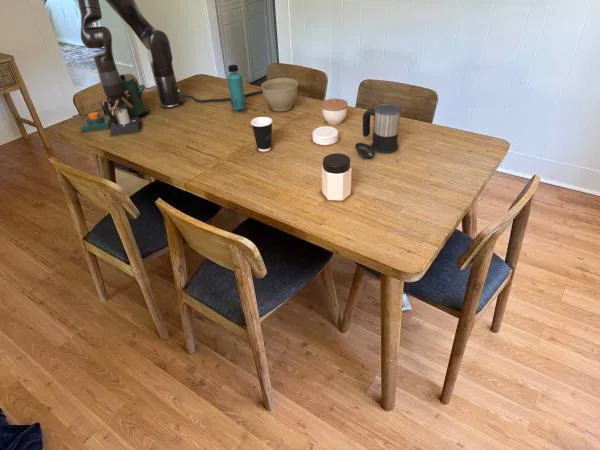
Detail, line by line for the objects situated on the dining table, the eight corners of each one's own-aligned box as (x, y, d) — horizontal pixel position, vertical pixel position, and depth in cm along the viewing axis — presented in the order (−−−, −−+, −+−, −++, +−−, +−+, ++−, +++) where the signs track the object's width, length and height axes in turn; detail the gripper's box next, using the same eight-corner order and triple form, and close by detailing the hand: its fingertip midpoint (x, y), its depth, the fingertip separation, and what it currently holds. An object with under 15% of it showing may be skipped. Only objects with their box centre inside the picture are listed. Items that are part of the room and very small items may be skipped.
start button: (100, 115, 180) (98, 111, 179) (98, 118, 177) (97, 115, 176) (90, 116, 179) (88, 112, 178) (89, 120, 176) (87, 116, 175)
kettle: (158, 109, 192) (148, 70, 181) (145, 120, 182) (133, 79, 171) (123, 108, 195) (111, 69, 184) (109, 119, 185) (94, 79, 174)
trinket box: (343, 127, 166) (344, 105, 160) (318, 125, 169) (318, 103, 163) (349, 117, 174) (350, 95, 168) (325, 115, 177) (325, 93, 171)
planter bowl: (278, 99, 195) (276, 75, 189) (306, 105, 187) (305, 81, 181) (256, 110, 185) (253, 86, 178) (284, 117, 177) (282, 92, 171)
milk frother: (399, 143, 153) (403, 104, 144) (392, 163, 142) (396, 122, 133) (361, 139, 157) (363, 101, 148) (352, 158, 146) (353, 119, 137)
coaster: (342, 136, 160) (342, 127, 158) (332, 147, 153) (332, 138, 151) (318, 132, 164) (318, 124, 162) (308, 143, 157) (308, 134, 155)
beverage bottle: (247, 107, 188) (242, 62, 176) (245, 113, 183) (238, 67, 171) (234, 108, 189) (227, 63, 177) (230, 113, 184) (223, 68, 171)
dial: (118, 121, 176) (114, 109, 172) (130, 119, 176) (126, 107, 173) (118, 125, 172) (114, 113, 169) (130, 123, 173) (126, 111, 170)
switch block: (111, 119, 185) (108, 111, 183) (109, 128, 177) (106, 119, 175) (86, 123, 183) (82, 114, 181) (82, 132, 176) (79, 123, 173)
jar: (334, 183, 133) (334, 149, 126) (355, 191, 129) (356, 157, 122) (317, 195, 128) (316, 161, 121) (338, 204, 124) (338, 169, 116)
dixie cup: (255, 144, 158) (251, 117, 152) (275, 143, 158) (273, 116, 151) (253, 154, 152) (249, 126, 145) (274, 153, 152) (271, 125, 145)
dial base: (140, 122, 181) (138, 115, 179) (139, 131, 173) (137, 124, 171) (114, 126, 179) (112, 119, 177) (112, 135, 171) (109, 128, 169)
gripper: (119, 75, 170) (130, 112, 180) (90, 86, 160) (104, 125, 170) (131, 77, 167) (142, 115, 177) (102, 88, 157) (116, 128, 167)
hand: (123, 120), depth 174 cm, fingers open, 8 cm apart
